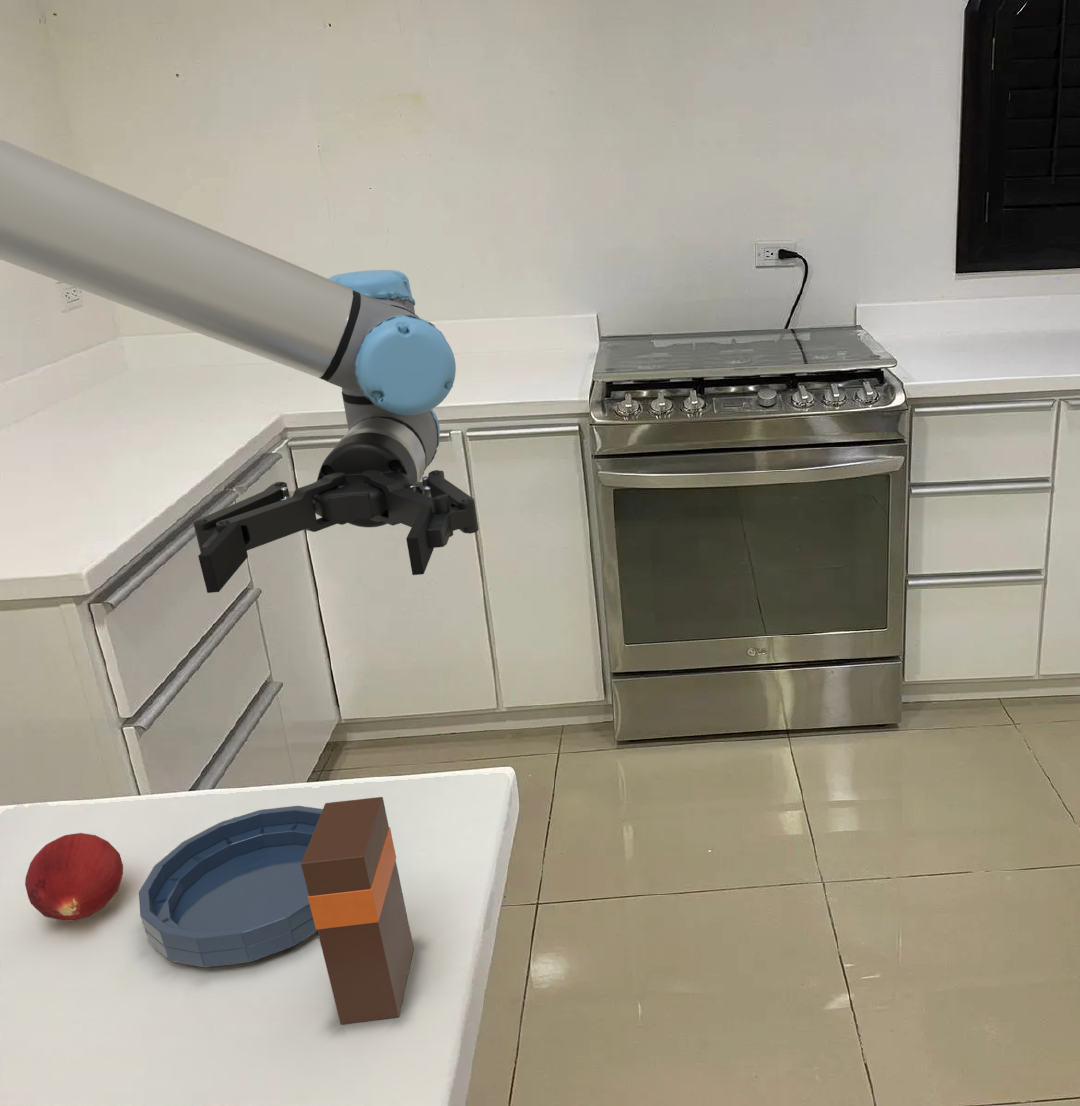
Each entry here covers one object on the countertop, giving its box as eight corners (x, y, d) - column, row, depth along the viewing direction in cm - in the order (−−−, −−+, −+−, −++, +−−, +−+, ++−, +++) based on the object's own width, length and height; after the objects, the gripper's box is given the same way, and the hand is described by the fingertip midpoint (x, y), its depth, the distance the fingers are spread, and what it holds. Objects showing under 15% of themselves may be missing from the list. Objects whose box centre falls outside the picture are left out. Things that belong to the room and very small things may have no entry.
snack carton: (339, 1025, 66) (299, 864, 61) (359, 954, 71) (324, 802, 67) (399, 1017, 66) (364, 856, 62) (415, 947, 72) (383, 795, 67)
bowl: (116, 986, 70) (103, 949, 69) (192, 850, 83) (182, 818, 82) (341, 958, 71) (332, 922, 70) (380, 829, 84) (374, 796, 83)
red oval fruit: (70, 892, 80) (51, 965, 73) (17, 840, 77) (-8, 911, 70) (144, 850, 81) (133, 918, 74) (95, 797, 78) (78, 863, 71)
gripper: (525, 502, 95) (505, 599, 76) (232, 526, 93) (134, 632, 73) (514, 419, 92) (491, 497, 73) (213, 442, 90) (105, 529, 70)
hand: (312, 565), depth 73 cm, fingers open, 13 cm apart
